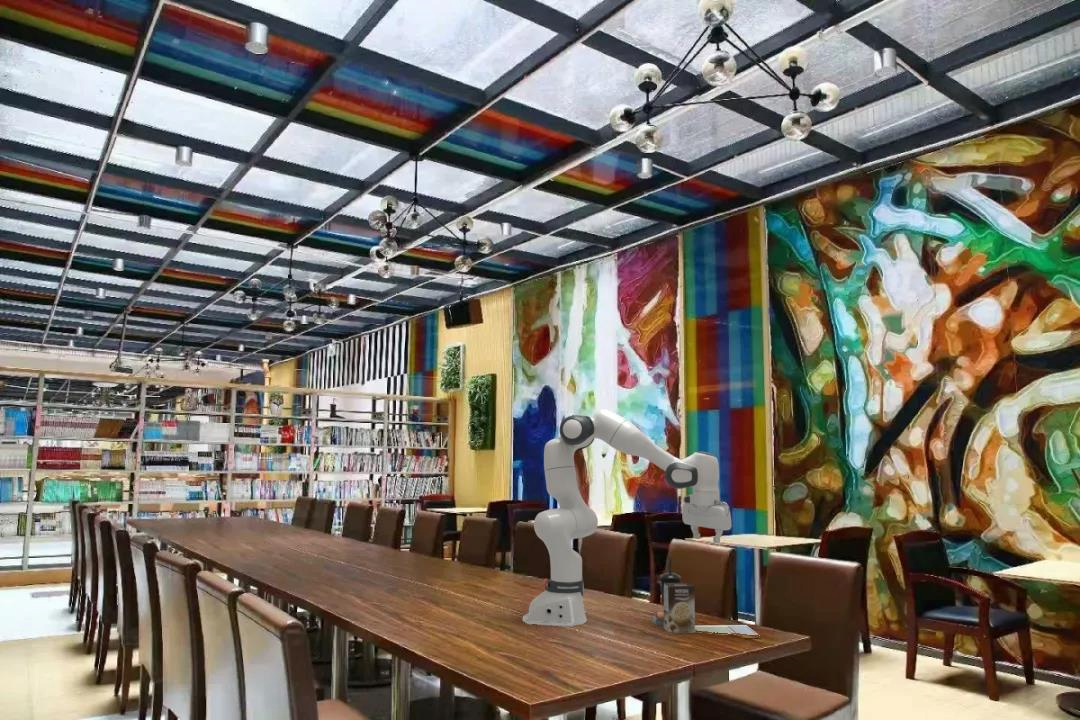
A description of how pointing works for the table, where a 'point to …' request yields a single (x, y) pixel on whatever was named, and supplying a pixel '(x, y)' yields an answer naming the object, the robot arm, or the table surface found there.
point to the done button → (660, 615)
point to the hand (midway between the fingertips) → (706, 540)
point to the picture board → (726, 629)
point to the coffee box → (679, 607)
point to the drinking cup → (669, 578)
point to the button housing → (657, 621)
